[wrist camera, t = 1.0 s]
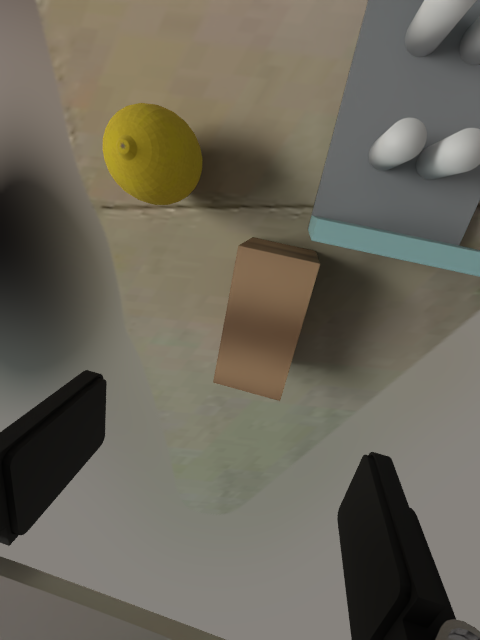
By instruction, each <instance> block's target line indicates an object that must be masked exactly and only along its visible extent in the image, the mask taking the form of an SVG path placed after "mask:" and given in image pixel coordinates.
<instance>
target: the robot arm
mask: <svg viewBox="0 0 480 640" xmlns="http://www.w3.org/2000/svg"><path fill="white" fill-rule="evenodd" d="M105 411H106V380H104V379H103V376H102V375H101V374H98V373H95V372H91V371H88V370H86V371H83V372H82V373H81V374H79V375H78V376H76V377H75V378H74V379H72V380H71V381H70V382H68V383H67V384H66V385H64V386H63V387H61V388H60V389H59V390H58V391H56V392H55V393H53V394H52V395H51V396H49V397H48V398H46V399H45V400H44V401H42V402H41V403H40V404H38V405H37V406H36V407H34V408H33V409H32V410H30V411H29V412H27V413H26V414H25V415H23V416H22V417H21V418H19V419H18V420H17V421H15V422H14V423H12V424H11V425H10V426H8V427H7V428H6V429H4V430H3V431H2V432H0V543H3V544H6V545H11V543H12V542H13V541H14V540H15V539H16V538H17V537H18V535H23V534H25V533H26V532H27V531H28V530H29V529H30V528H31V527H32V526H33V524H34V523H35V522H36V521H37V520H38V518H39V517H40V516H41V515H42V514H43V513H44V511H45V510H46V509H47V508H48V507H49V506H50V504H51V503H52V502H53V501H54V500H55V499H56V497H57V496H58V495H59V494H60V493H61V492H62V490H63V489H64V488H65V487H66V486H67V485H68V483H69V482H70V481H71V480H72V479H73V478H74V476H75V475H76V474H77V473H78V472H79V470H80V469H81V468H82V467H83V466H84V465H85V463H86V462H87V461H88V460H89V459H90V458H91V457H92V455H93V454H94V453H95V452H96V451H97V450H98V448H99V447H100V446H101V445H102V443H103V441H104V437H105V414H106V413H105ZM338 528H339V536H340V545H341V553H342V561H343V569H344V578H345V587H346V595H347V604H348V612H349V620H350V629H351V637H352V640H480V632H479V631H478V630H477V629H476V628H475V627H473V626H471V625H469V624H467V623H466V622H464V621H460V620H456V618H455V615H454V612H453V610H452V607H451V605H450V602H449V599H448V597H447V594H446V591H445V589H444V586H443V583H442V581H441V578H440V576H439V573H438V570H437V568H436V565H435V562H434V560H433V557H432V555H431V552H430V549H429V547H428V544H427V541H426V539H425V537H424V534H423V531H422V528H421V526H420V523H419V520H418V518H417V516H416V514H415V512H414V511H413V510H412V508H409V505H408V503H407V500H406V497H405V495H404V492H403V489H402V486H401V484H400V481H399V478H398V475H397V473H396V470H395V467H394V465H393V462H392V459H391V458H390V457H388V456H384V455H381V454H378V453H374V452H371V453H370V454H369V455H364V456H363V457H362V459H361V462H360V464H359V466H358V468H357V470H356V472H355V475H354V477H353V479H352V481H351V483H350V486H349V488H348V490H347V492H346V494H345V497H344V499H343V501H342V503H341V505H340V508H339V511H338ZM0 640H225V639H223V638H220V637H217V636H215V635H212V634H209V633H207V632H204V631H202V630H199V629H196V628H194V627H191V626H188V625H185V624H183V623H180V622H177V621H175V620H172V619H169V618H167V617H164V616H161V615H159V614H156V613H153V612H150V611H148V610H145V609H143V608H140V607H137V606H135V605H132V604H129V603H127V602H124V601H121V600H119V599H116V598H113V597H111V596H108V595H105V594H102V593H100V592H97V591H94V590H92V589H89V588H86V587H83V586H80V585H78V584H75V583H72V582H70V581H67V580H64V579H61V578H59V577H56V576H53V575H51V574H48V573H45V572H42V571H40V570H37V569H34V568H32V567H29V566H26V565H23V564H21V563H17V562H15V561H12V560H9V559H6V558H3V557H0Z"/></svg>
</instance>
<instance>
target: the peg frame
mask: <svg viewBox="0 0 480 640" xmlns="http://www.w3.org/2000/svg"><path fill="white" fill-rule="evenodd" d="M479 201H480V0H368V3H367V7H366V11H365V15H364V18H363V22H362V26H361V30H360V33H359V37H358V41H357V45H356V49H355V52H354V56H353V60H352V64H351V68H350V71H349V75H348V79H347V83H346V86H345V90H344V94H343V98H342V102H341V105H340V109H339V113H338V117H337V120H336V124H335V128H334V132H333V136H332V139H331V143H330V147H329V151H328V155H327V158H326V162H325V166H324V170H323V173H322V177H321V181H320V185H319V189H318V192H317V196H316V200H315V204H314V208H313V211H312V215H311V219H310V223H309V226H308V231H309V234H310V237H311V240H312V241H316V242H321V243H326V244H330V245H335V246H340V247H344V248H349V249H354V250H358V251H363V252H368V253H372V254H377V255H382V256H386V257H391V258H396V259H400V260H405V261H410V262H414V263H419V264H424V265H428V266H433V267H438V268H442V269H447V270H452V271H456V272H461V273H466V274H470V275H475V276H480V250H476V249H472V248H467V247H463V246H459V244H460V242H461V240H462V238H463V236H464V233H465V231H466V229H467V227H468V225H469V222H470V220H471V218H472V216H473V214H474V212H475V209H476V207H477V205H478V203H479Z"/></svg>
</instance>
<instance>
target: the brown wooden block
mask: <svg viewBox="0 0 480 640" xmlns="http://www.w3.org/2000/svg"><path fill="white" fill-rule="evenodd" d="M319 267H320V262H319V259H318V256H317V254H316V251H313V250H308V249H304V248H299V247H295V246H290V245H285V244H281V243H276V242H272V241H267V240H263V239H258V238H254V237H252V238H251V239H249V240H247V241H246V242H244V243H242V244H240V245H239V246H238V251H237V256H236V262H235V267H234V273H233V278H232V284H231V289H230V294H229V300H228V305H227V311H226V316H225V321H224V327H223V332H222V338H221V343H220V349H219V354H218V359H217V365H216V370H215V376H214V381H213V382H214V383H217V384H221V385H224V386H228V387H232V388H235V389H239V390H243V391H246V392H250V393H253V394H257V395H261V396H264V397H268V398H272V399H275V400H279V401H280V399H281V396H282V393H283V389H284V386H285V382H286V379H287V376H288V372H289V369H290V365H291V362H292V359H293V355H294V352H295V348H296V345H297V342H298V338H299V335H300V331H301V328H302V324H303V321H304V318H305V314H306V311H307V307H308V304H309V301H310V297H311V294H312V290H313V287H314V284H315V280H316V277H317V273H318V270H319Z"/></svg>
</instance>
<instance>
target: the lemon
mask: <svg viewBox="0 0 480 640" xmlns="http://www.w3.org/2000/svg"><path fill="white" fill-rule="evenodd" d="M103 154H104V159H105V162H106V165H107V168H108V170H109V172H110V174H111V175H112V177H113V179H114V180H115V181H116V183H117V184H118V185H119V186H120V187H121V188H122V189H123V190H124V191H126V192H127V193H129V194H130V195H132V196H133V197H135V198H137V199H138V200H141V201H144V202H147V203H150V204H154V205H168V204H172V203H176V202H179V201H181V200H182V199H184V198H185V197H187V196H188V195H189V194H190V193H191V192H192V191H193V190H194V189H195V187H196V185H197V183H198V181H199V180H200V176H201V172H202V154H201V149H200V145H199V143H198V141H197V138H196V136H195V134H194V133H193V131H192V130H191V128H190V127H189V126H188V124H187V123H186V122H185V121H184V120H183V119H181V118H180V117H179V116H178V115H177V114H175V113H174V112H172V111H170V110H168V109H166V108H164V107H161V106H159V105H154V104H145V103H138V104H134V105H129V106H126V107H125V108H123V109H121V110H119V111H118V112H117V113H116V114H115V115H114V116H113V117H112V118H111V119H110V121H109V123H108V125H107V127H106V129H105V133H104V137H103Z"/></svg>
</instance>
